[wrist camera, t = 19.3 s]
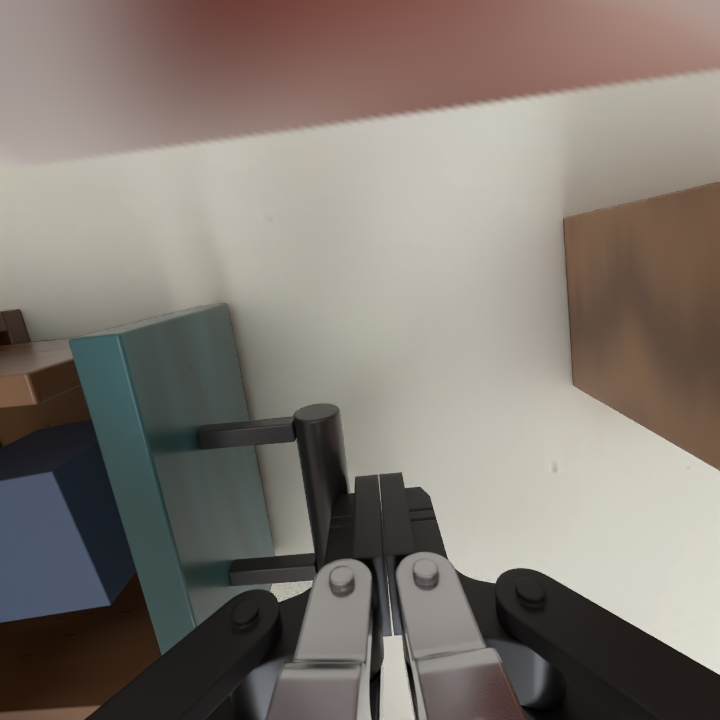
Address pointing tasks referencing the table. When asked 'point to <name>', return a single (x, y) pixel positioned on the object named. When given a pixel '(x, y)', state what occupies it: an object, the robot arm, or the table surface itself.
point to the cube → (651, 313)
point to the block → (59, 525)
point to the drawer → (158, 496)
